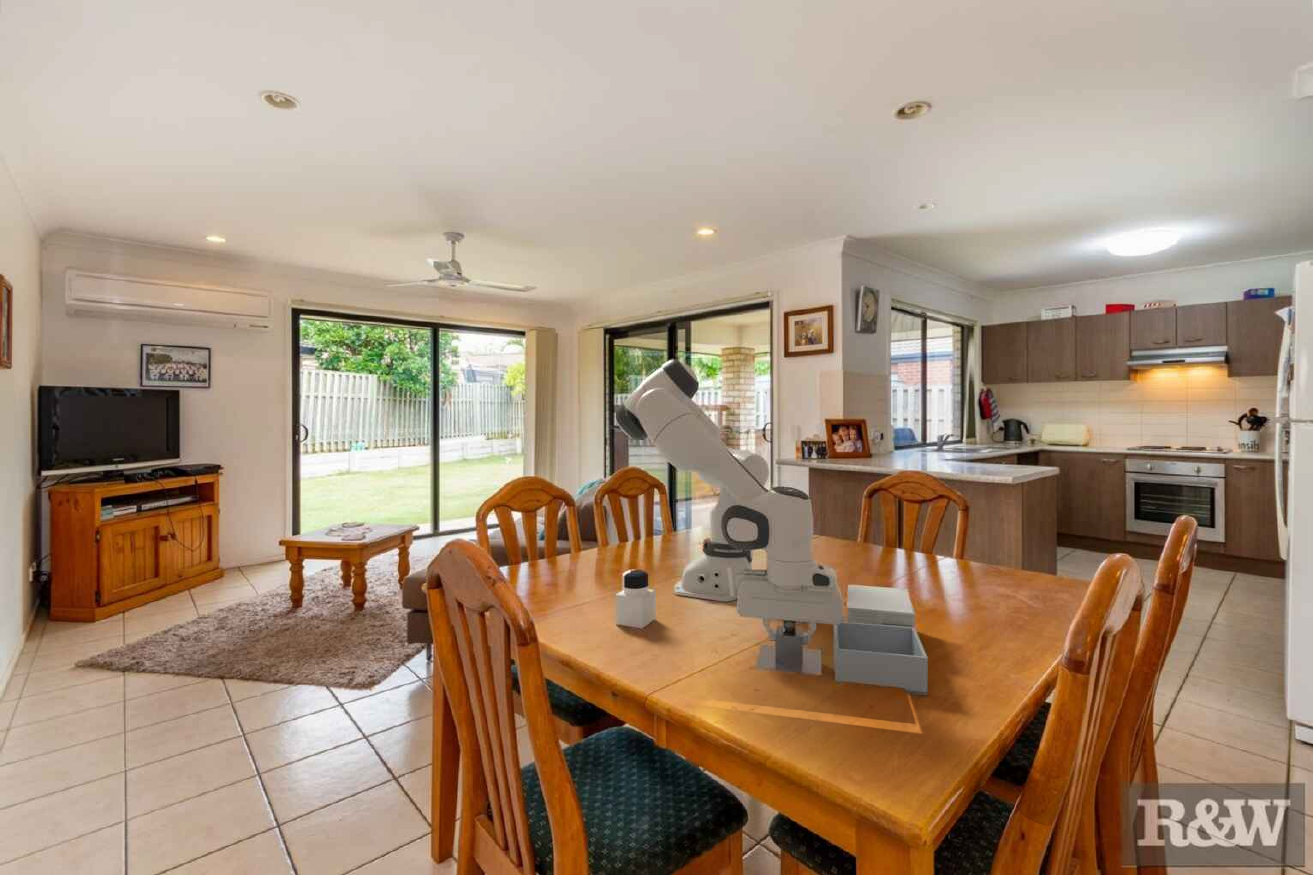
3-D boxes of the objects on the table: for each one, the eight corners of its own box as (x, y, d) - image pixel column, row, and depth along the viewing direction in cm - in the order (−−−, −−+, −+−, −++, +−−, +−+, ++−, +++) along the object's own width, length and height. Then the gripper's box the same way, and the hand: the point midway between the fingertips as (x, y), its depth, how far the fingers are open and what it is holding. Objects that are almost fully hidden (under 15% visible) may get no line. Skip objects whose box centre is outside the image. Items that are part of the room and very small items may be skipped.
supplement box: (846, 623, 140) (847, 583, 140) (908, 629, 136) (908, 588, 135) (845, 651, 124) (846, 606, 124) (915, 659, 120) (915, 612, 119)
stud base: (755, 673, 113) (755, 650, 113) (761, 649, 125) (761, 628, 125) (821, 680, 110) (821, 656, 110) (821, 654, 122) (821, 633, 121)
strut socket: (775, 662, 116) (775, 621, 115) (777, 652, 120) (777, 612, 120) (802, 665, 114) (802, 623, 114) (802, 655, 119) (803, 615, 119)
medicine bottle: (655, 619, 143) (655, 569, 143) (642, 629, 137) (642, 577, 136) (629, 615, 146) (628, 566, 146) (615, 624, 140) (614, 573, 139)
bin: (835, 685, 108) (835, 649, 108) (833, 653, 122) (833, 620, 122) (927, 695, 104) (927, 658, 104) (914, 660, 118) (914, 627, 118)
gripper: (733, 572, 116) (733, 642, 117) (844, 579, 111) (844, 653, 111) (738, 564, 122) (738, 631, 123) (843, 570, 117) (843, 640, 118)
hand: (789, 641), depth 117 cm, fingers closed on strut socket, 5 cm apart
